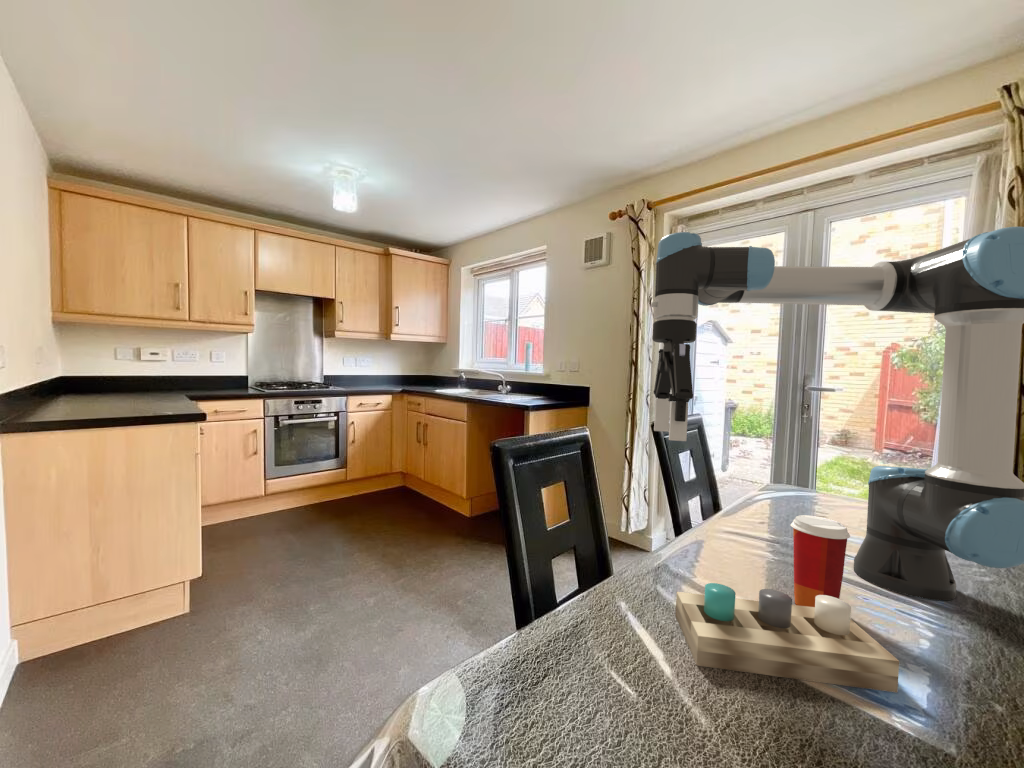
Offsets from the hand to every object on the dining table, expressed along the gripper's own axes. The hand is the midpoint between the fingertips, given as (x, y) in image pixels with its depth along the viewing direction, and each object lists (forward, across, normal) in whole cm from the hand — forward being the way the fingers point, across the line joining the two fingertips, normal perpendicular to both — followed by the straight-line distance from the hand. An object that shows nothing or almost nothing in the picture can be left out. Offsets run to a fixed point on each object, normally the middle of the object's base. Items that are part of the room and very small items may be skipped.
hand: (668, 435), depth 79 cm
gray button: (+24, +17, +12) cm, 31 cm away
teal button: (+24, +16, +5) cm, 29 cm away
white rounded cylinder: (+24, +17, +20) cm, 35 cm away
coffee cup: (+28, +2, +25) cm, 38 cm away
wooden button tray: (+28, +16, +12) cm, 35 cm away
